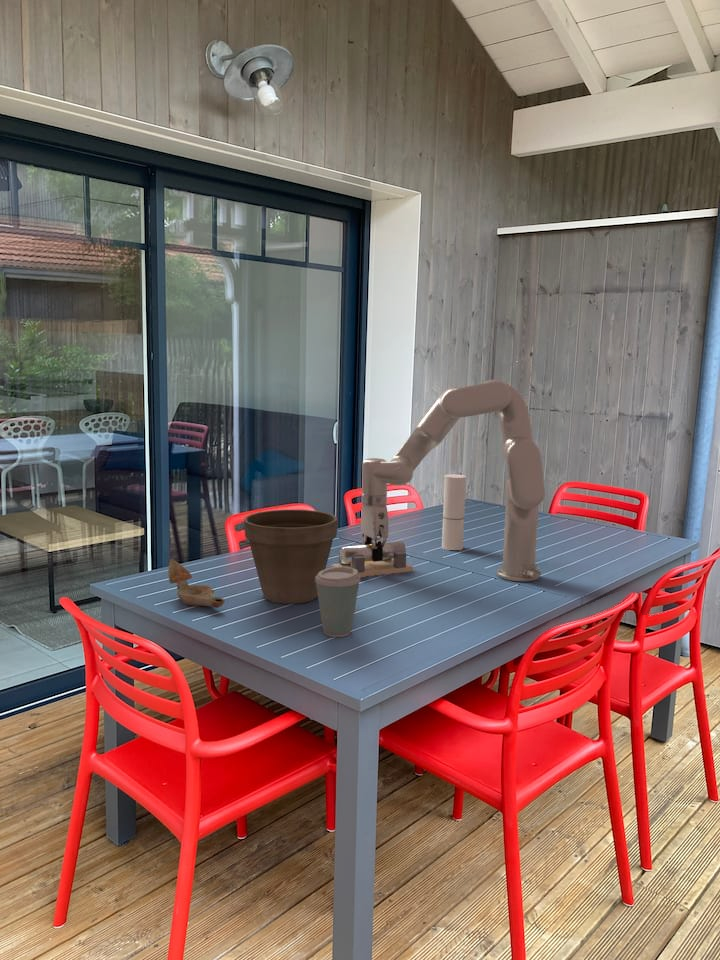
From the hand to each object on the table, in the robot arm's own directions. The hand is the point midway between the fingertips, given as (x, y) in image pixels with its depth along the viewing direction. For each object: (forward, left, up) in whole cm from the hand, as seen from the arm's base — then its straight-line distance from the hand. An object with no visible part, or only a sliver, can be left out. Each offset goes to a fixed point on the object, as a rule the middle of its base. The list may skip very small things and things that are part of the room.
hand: (372, 558), depth 234 cm
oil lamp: (-10, +57, -4) cm, 58 cm away
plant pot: (-14, +32, -4) cm, 35 cm away
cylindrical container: (+14, -38, -4) cm, 41 cm away
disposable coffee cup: (-44, +32, -4) cm, 55 cm away
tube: (0, 0, -1) cm, 1 cm away
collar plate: (0, 0, -4) cm, 4 cm away
